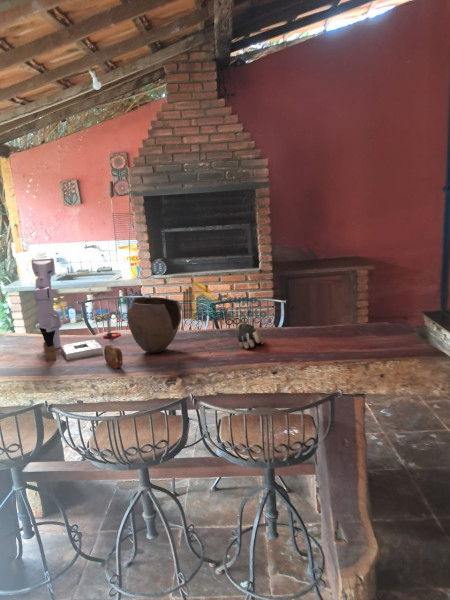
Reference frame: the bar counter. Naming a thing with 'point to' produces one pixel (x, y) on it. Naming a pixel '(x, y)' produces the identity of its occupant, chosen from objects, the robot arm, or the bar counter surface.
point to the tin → (113, 356)
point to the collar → (81, 349)
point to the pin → (49, 352)
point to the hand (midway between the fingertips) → (48, 344)
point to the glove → (248, 335)
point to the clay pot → (154, 322)
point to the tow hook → (109, 334)
